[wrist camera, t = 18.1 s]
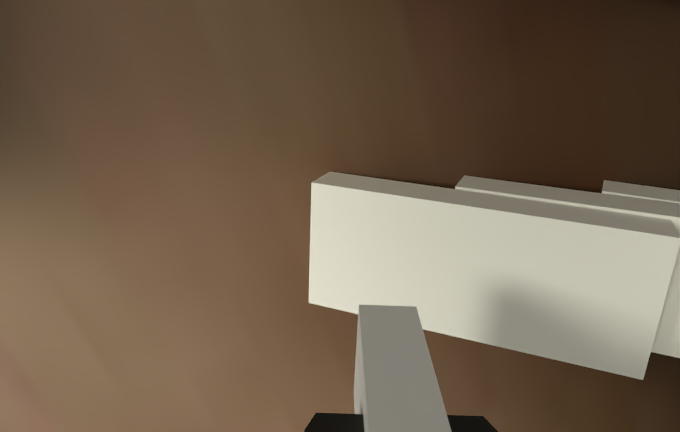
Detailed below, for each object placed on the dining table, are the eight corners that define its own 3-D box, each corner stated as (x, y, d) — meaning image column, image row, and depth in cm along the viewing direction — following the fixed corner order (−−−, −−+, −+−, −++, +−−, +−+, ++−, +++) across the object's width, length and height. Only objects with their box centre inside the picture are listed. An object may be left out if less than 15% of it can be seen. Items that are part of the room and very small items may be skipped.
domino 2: (442, 305, 22) (809, 387, 17) (455, 186, 20) (864, 243, 16) (451, 287, 23) (790, 357, 19) (464, 175, 22) (838, 224, 17)
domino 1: (308, 302, 22) (643, 380, 18) (311, 182, 20) (681, 238, 16) (326, 283, 23) (636, 350, 19) (330, 171, 22) (670, 219, 18)
